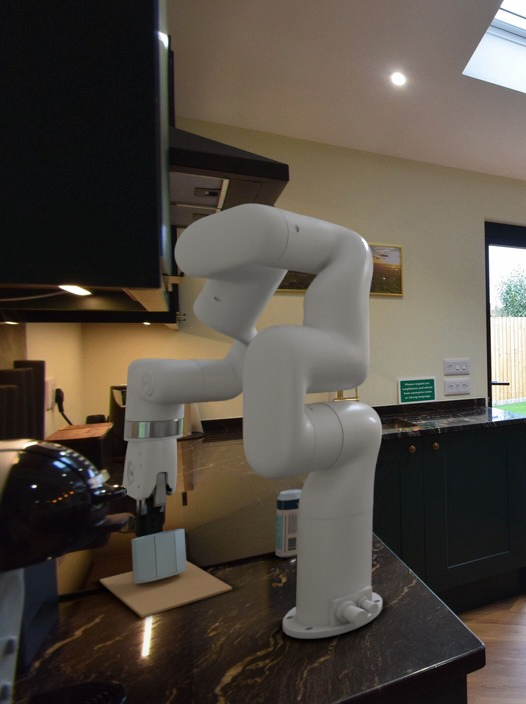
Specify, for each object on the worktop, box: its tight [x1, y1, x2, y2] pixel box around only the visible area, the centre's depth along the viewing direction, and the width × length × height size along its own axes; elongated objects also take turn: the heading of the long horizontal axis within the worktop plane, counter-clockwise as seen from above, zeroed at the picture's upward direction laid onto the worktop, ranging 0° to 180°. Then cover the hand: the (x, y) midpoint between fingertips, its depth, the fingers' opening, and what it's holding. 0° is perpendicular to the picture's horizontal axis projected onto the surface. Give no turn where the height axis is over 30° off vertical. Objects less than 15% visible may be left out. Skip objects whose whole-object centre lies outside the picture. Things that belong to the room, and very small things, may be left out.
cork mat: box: [99, 560, 233, 619], centre depth 86 cm, size 22×11×1 cm, turn 57°
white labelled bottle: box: [275, 488, 302, 559], centre depth 101 cm, size 5×5×12 cm
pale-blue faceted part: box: [131, 528, 187, 583], centre depth 89 cm, size 7×6×11 cm
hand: (148, 535), depth 90 cm, fingers closed
